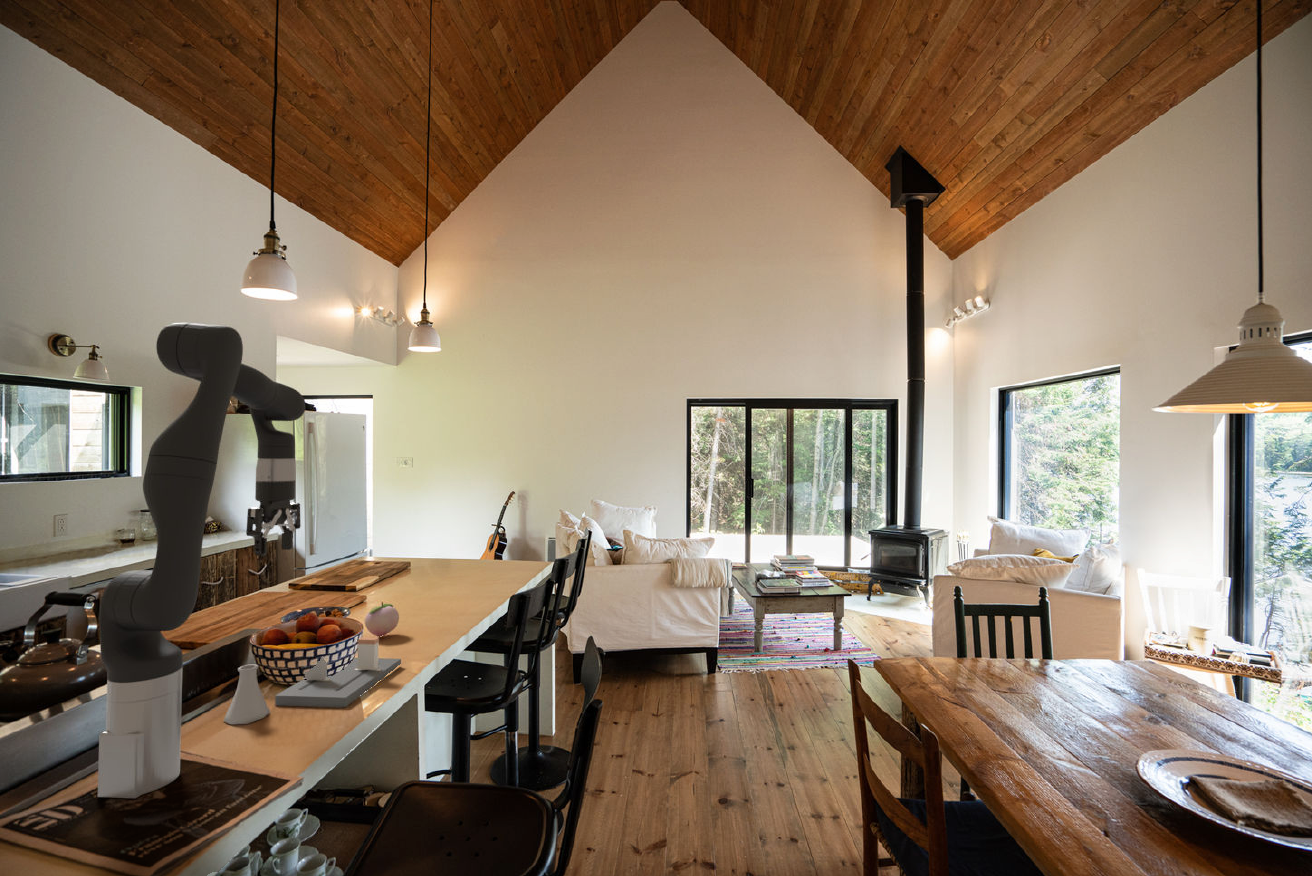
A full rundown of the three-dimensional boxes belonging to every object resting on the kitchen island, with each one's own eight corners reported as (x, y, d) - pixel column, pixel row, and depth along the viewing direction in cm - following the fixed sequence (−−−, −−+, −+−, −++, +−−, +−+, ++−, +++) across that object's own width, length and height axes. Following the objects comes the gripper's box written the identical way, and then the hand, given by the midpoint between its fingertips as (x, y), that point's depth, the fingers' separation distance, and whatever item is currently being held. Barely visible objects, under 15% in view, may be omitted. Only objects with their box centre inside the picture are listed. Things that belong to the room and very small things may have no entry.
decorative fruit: (387, 643, 169) (388, 606, 169) (359, 642, 170) (360, 605, 170) (405, 633, 178) (405, 598, 179) (378, 632, 179) (379, 597, 179)
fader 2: (374, 669, 141) (374, 640, 142) (356, 669, 142) (357, 639, 142) (378, 667, 143) (378, 637, 143) (361, 666, 143) (361, 637, 144)
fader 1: (322, 680, 135) (322, 648, 135) (304, 679, 135) (305, 648, 135) (327, 676, 137) (328, 646, 137) (309, 676, 137) (310, 645, 137)
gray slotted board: (345, 707, 126) (345, 697, 126) (275, 705, 127) (275, 695, 127) (400, 667, 150) (401, 658, 150) (341, 665, 151) (341, 656, 151)
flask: (247, 727, 117) (248, 674, 117) (215, 724, 118) (216, 671, 119) (277, 712, 124) (278, 662, 124) (247, 709, 125) (248, 659, 126)
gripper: (270, 480, 129) (268, 558, 129) (312, 478, 144) (310, 547, 143) (235, 480, 130) (234, 557, 129) (281, 477, 144) (279, 547, 144)
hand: (274, 552), depth 136 cm, fingers open, 8 cm apart
